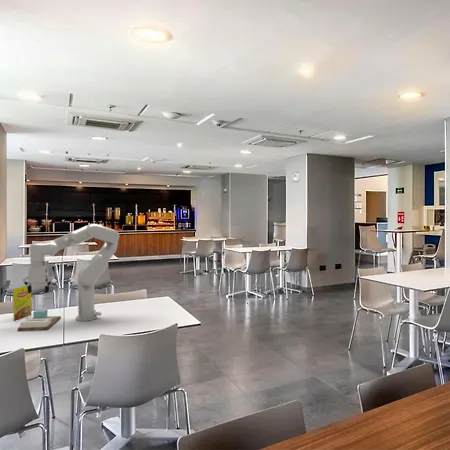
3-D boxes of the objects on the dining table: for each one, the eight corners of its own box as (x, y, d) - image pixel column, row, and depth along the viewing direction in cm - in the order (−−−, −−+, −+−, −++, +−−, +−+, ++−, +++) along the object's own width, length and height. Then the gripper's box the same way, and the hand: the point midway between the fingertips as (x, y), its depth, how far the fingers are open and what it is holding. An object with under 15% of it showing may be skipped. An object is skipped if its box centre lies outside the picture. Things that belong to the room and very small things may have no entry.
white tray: (51, 322, 219) (51, 317, 219) (46, 326, 212) (46, 321, 211) (25, 323, 218) (25, 318, 218) (20, 327, 210) (20, 322, 210)
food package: (14, 321, 228) (14, 288, 227) (12, 321, 228) (12, 288, 227) (32, 315, 243) (31, 284, 242) (30, 315, 243) (30, 284, 242)
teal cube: (47, 320, 225) (47, 309, 225) (44, 322, 219) (44, 311, 219) (36, 320, 224) (36, 309, 224) (33, 323, 219) (33, 312, 218)
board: (60, 318, 235) (60, 316, 234) (47, 330, 211) (47, 327, 211) (33, 319, 232) (33, 317, 232) (17, 331, 209) (17, 328, 209)
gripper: (55, 262, 226) (55, 291, 226) (25, 263, 225) (26, 291, 225) (50, 264, 218) (50, 293, 219) (19, 265, 217) (20, 294, 218)
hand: (38, 292), depth 222 cm, fingers open, 9 cm apart
